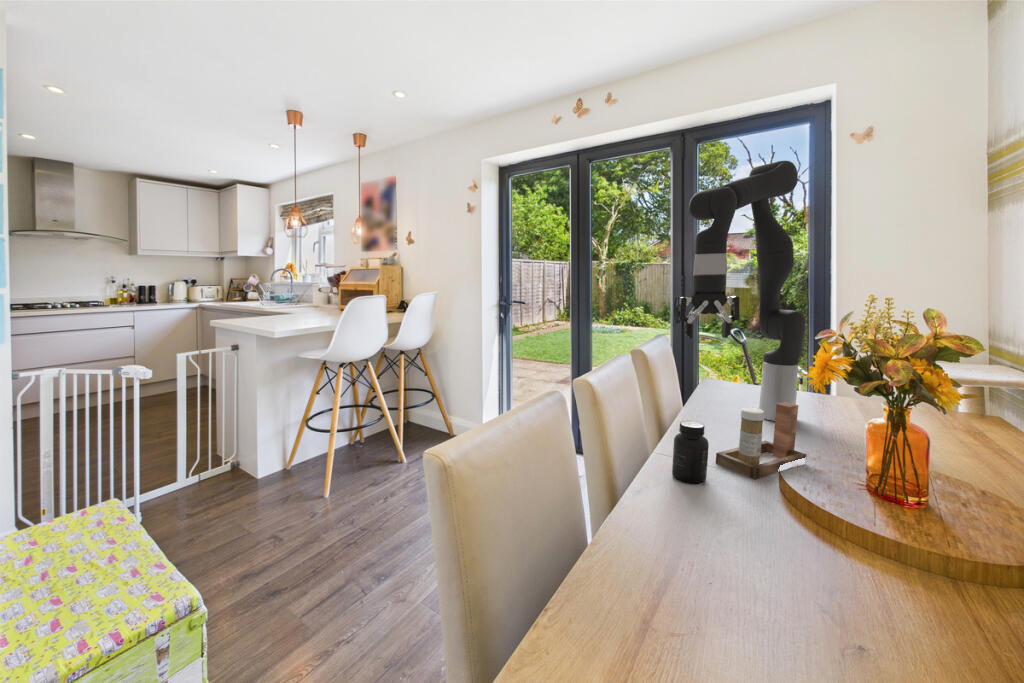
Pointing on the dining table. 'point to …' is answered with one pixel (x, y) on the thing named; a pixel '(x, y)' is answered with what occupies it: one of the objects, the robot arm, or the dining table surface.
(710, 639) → the dining table surface
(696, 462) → the supplement bottle
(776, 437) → the wooden frame tray
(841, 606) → the dining table surface
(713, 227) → the robot arm
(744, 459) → the sprinkles bottle
